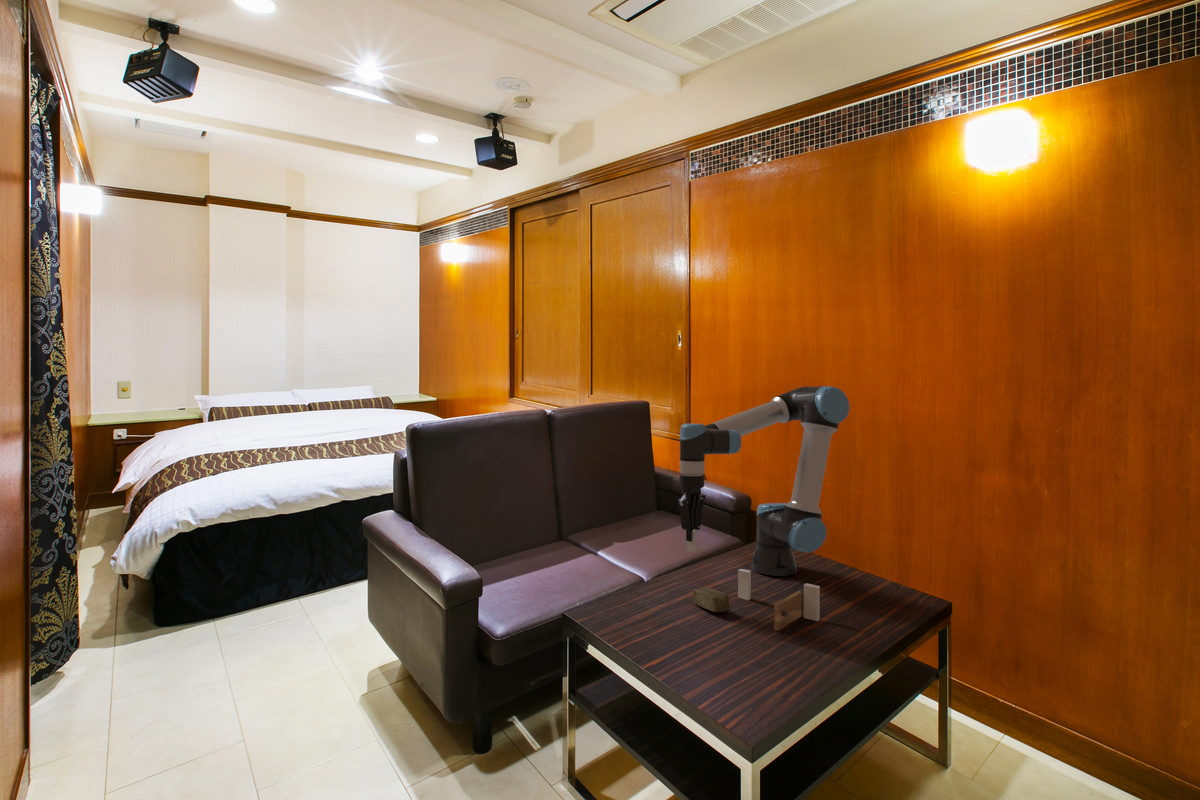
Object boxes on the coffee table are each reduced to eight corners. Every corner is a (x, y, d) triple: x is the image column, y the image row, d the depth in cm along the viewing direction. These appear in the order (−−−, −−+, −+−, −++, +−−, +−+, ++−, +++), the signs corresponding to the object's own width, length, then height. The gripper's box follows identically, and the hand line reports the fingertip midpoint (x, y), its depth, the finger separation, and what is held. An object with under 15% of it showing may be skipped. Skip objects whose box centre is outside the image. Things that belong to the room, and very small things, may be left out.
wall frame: (740, 598, 185) (740, 568, 184) (819, 619, 168) (820, 586, 168) (737, 600, 183) (737, 570, 183) (817, 621, 167) (817, 588, 166)
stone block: (715, 614, 169) (714, 597, 169) (691, 604, 179) (691, 588, 179) (731, 611, 172) (730, 593, 172) (706, 601, 182) (706, 585, 182)
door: (774, 630, 160) (774, 603, 160) (799, 614, 172) (799, 589, 171) (783, 633, 158) (783, 605, 158) (808, 616, 170) (808, 591, 170)
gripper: (692, 471, 186) (691, 544, 186) (669, 475, 176) (669, 553, 176) (713, 473, 181) (712, 549, 181) (691, 477, 171) (690, 557, 171)
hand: (691, 551), depth 179 cm, fingers closed
